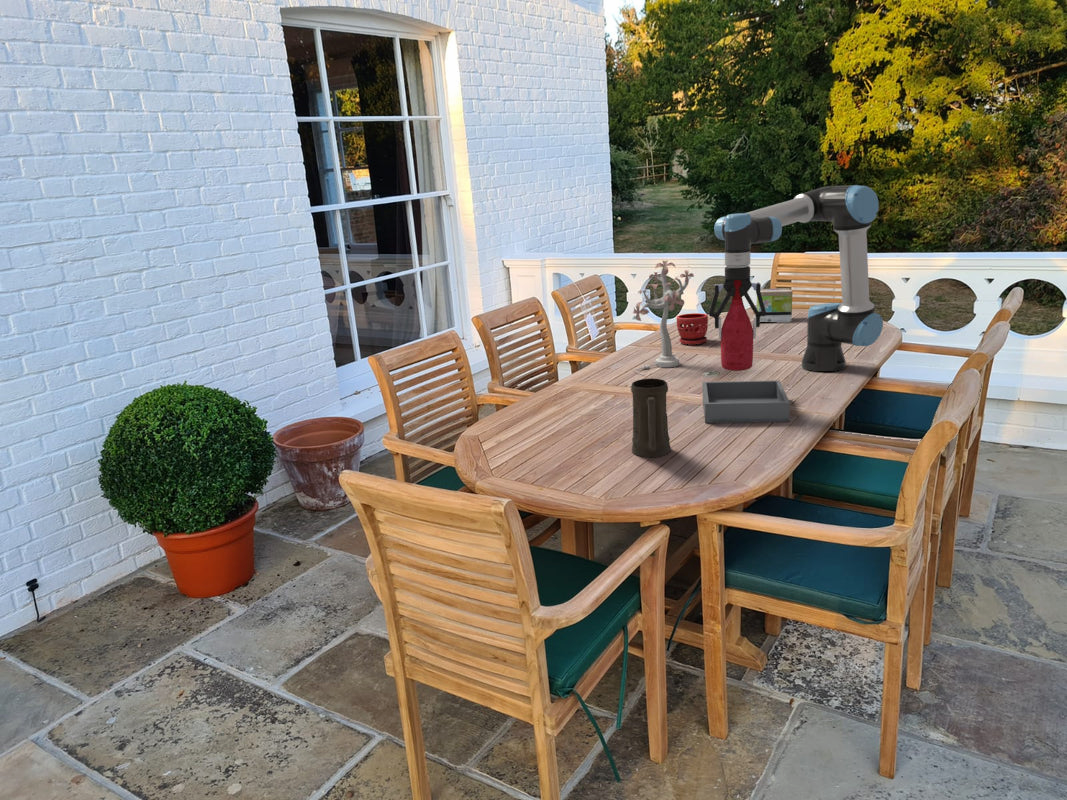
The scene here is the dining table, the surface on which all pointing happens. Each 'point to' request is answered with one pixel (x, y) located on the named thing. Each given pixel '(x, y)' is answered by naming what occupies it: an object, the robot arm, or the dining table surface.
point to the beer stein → (650, 418)
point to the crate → (745, 402)
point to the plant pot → (692, 328)
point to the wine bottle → (737, 336)
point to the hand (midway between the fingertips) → (737, 338)
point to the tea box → (776, 305)
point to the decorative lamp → (668, 296)
